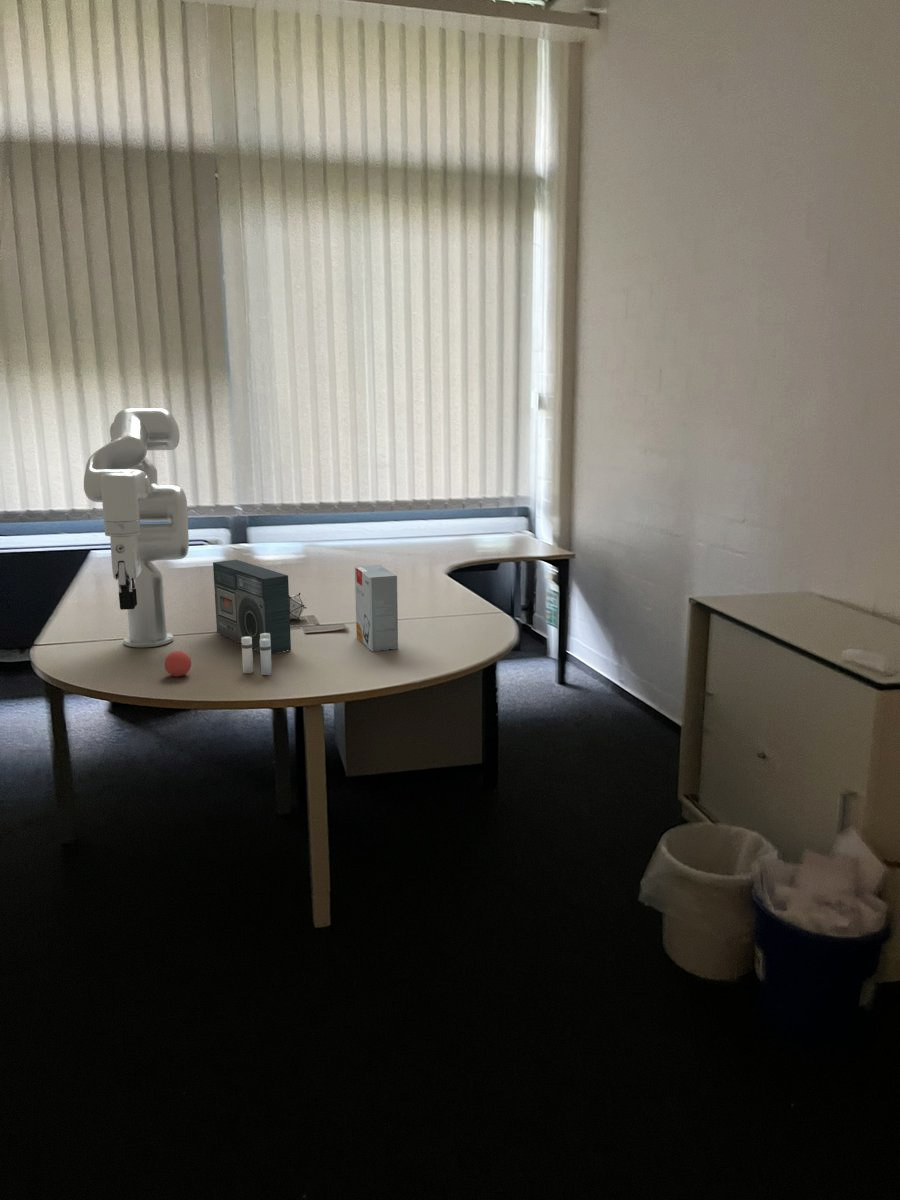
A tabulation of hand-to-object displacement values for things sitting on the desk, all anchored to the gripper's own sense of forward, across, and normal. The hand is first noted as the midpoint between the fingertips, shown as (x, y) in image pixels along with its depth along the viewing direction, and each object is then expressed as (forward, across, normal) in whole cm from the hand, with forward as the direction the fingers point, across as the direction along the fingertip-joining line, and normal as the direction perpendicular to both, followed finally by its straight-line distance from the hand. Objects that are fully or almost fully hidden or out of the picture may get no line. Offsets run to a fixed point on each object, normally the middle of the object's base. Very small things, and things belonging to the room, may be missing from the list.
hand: (128, 606), depth 204 cm
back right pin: (+17, -2, -30) cm, 35 cm away
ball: (+14, 0, -10) cm, 17 cm away
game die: (+17, +50, -37) cm, 65 cm away
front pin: (+17, 0, -26) cm, 31 cm away
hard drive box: (+17, +20, -59) cm, 65 cm away
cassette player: (+18, +28, -26) cm, 43 cm away
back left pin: (+17, +2, -30) cm, 35 cm away
